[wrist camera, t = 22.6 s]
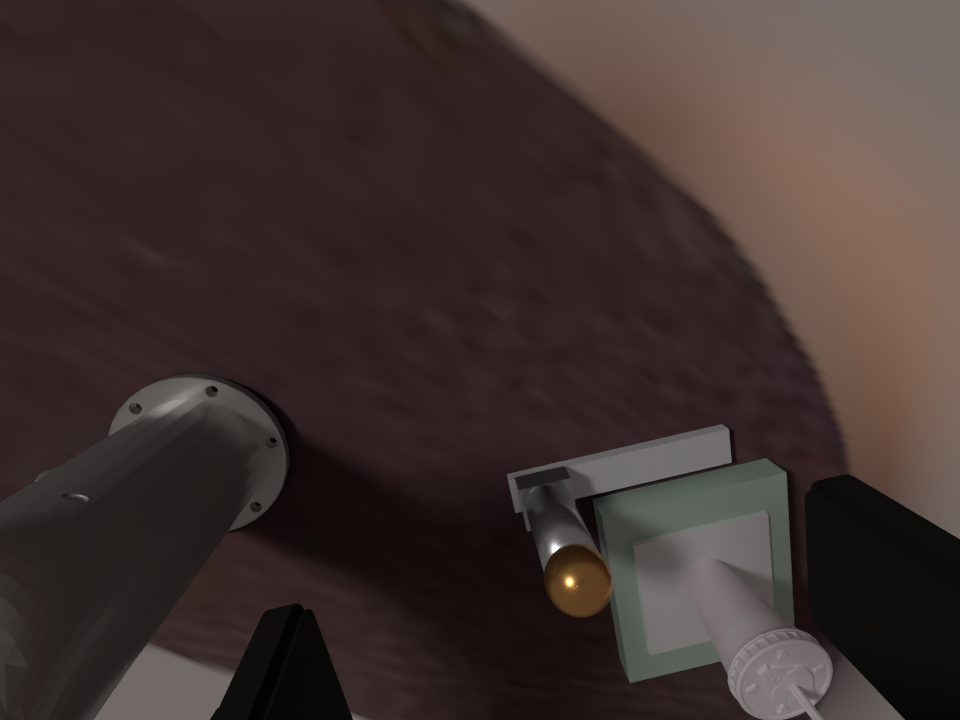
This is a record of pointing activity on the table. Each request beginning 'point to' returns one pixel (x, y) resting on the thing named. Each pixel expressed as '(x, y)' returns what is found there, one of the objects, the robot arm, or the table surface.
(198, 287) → the table surface
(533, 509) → the lever
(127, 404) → the robot arm
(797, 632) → the smoothie
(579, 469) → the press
